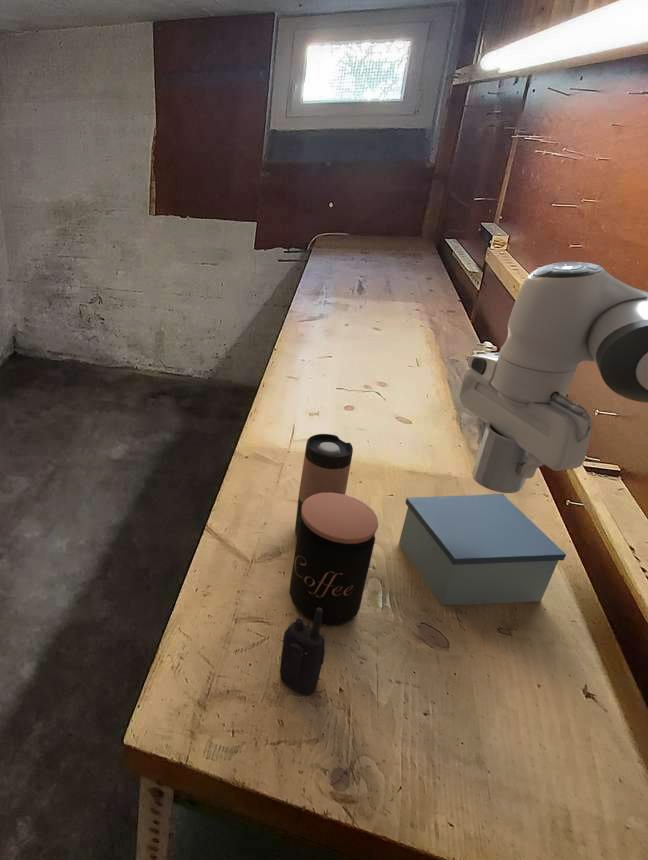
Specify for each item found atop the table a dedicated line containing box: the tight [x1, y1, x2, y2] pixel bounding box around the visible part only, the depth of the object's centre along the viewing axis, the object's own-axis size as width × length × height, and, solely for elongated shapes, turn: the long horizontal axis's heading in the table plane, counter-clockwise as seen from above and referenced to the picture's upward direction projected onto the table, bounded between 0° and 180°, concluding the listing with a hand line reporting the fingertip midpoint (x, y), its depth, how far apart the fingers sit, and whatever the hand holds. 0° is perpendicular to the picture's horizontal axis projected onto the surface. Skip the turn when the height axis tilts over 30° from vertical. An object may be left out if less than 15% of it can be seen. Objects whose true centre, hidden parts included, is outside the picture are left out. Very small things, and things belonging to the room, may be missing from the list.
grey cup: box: [471, 422, 529, 494], centre depth 85 cm, size 7×7×9 cm
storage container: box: [398, 493, 567, 606], centre depth 93 cm, size 17×15×10 cm
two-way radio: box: [279, 608, 326, 696], centre depth 75 cm, size 6×4×15 cm
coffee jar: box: [289, 493, 379, 627], centre depth 87 cm, size 11×11×18 cm
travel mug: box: [294, 433, 354, 538], centre depth 100 cm, size 8×8×20 cm
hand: (503, 460), depth 85 cm, fingers closed on grey cup, 6 cm apart
